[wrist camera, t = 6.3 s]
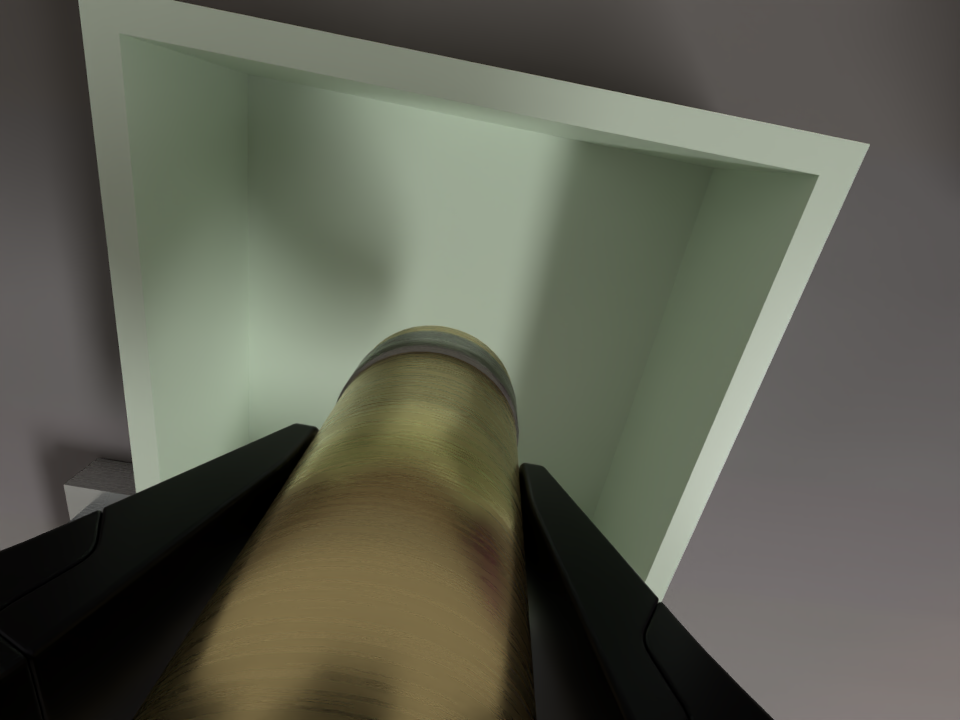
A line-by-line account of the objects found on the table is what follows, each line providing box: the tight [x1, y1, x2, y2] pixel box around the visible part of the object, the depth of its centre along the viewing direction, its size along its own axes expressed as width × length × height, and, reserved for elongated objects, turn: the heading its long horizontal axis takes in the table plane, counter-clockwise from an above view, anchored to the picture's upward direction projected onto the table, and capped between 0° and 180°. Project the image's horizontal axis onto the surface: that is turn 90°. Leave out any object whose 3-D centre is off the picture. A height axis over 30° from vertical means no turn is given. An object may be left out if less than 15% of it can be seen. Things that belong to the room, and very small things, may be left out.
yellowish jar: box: [132, 325, 537, 720], centre depth 7 cm, size 4×4×9 cm
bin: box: [78, 0, 870, 603], centre depth 13 cm, size 13×13×5 cm
